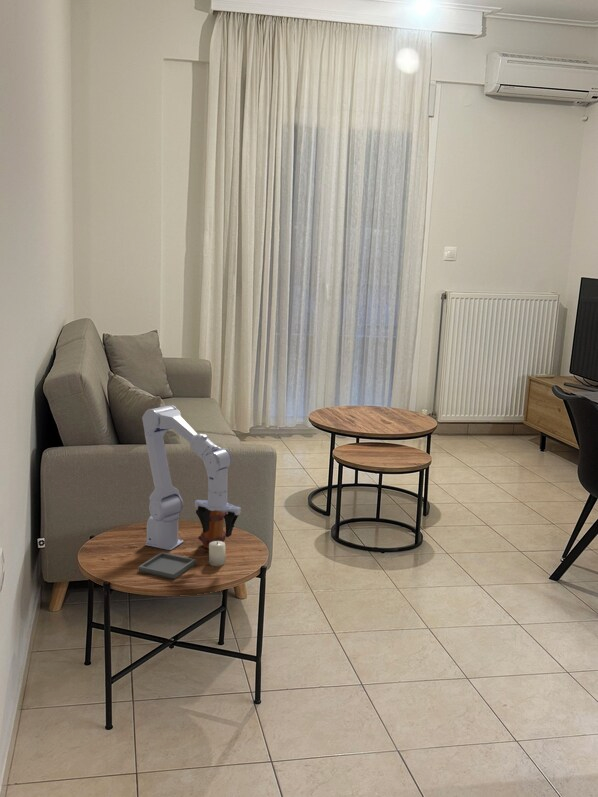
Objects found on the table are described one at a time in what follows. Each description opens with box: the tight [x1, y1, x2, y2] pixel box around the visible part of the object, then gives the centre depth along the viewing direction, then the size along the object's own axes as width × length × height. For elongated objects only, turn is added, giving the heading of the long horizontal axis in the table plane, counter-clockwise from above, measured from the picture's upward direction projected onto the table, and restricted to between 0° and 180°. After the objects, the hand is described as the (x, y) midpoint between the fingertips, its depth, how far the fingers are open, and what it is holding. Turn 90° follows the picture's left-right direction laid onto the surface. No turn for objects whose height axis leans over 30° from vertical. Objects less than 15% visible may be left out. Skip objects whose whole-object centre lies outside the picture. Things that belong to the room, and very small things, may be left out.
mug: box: [198, 510, 228, 549], centre depth 254 cm, size 15×8×15 cm, turn 168°
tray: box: [137, 551, 197, 581], centre depth 236 cm, size 12×12×2 cm
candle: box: [208, 541, 226, 567], centre depth 240 cm, size 5×5×7 cm
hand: (217, 533), depth 239 cm, fingers open, 7 cm apart
